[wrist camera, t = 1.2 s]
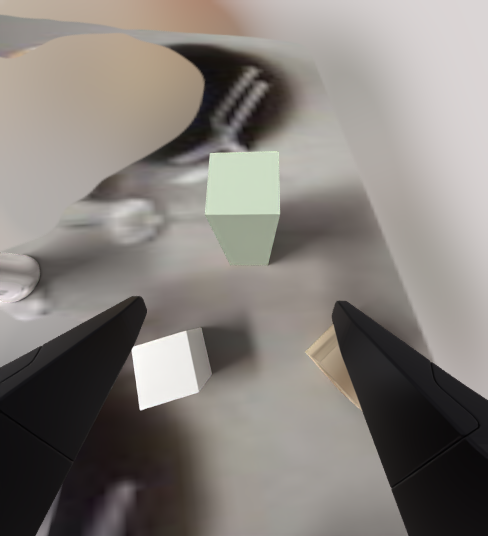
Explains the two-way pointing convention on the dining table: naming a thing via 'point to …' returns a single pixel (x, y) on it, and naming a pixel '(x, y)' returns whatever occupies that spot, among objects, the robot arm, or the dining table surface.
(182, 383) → the white cube
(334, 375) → the oak cube
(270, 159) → the sage block
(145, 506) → the dining table surface
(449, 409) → the robot arm
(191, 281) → the dining table surface
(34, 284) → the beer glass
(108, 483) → the dining table surface
